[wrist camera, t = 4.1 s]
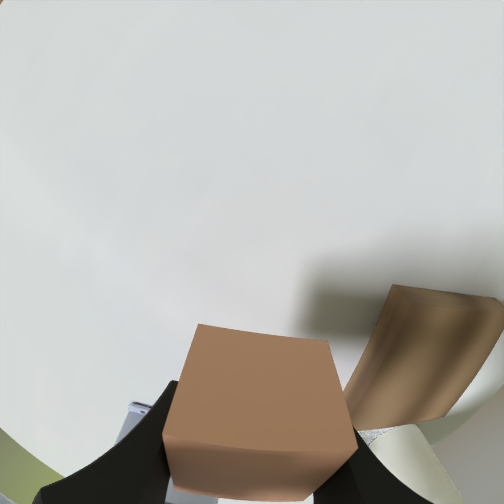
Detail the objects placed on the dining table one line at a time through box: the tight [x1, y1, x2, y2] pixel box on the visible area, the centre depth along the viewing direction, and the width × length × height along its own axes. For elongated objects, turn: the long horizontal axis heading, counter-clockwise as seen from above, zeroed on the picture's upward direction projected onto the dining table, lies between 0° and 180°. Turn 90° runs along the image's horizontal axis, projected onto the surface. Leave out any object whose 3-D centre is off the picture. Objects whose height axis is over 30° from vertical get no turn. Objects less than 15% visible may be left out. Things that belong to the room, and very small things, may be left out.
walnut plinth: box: [343, 285, 504, 431], centre depth 16 cm, size 12×12×3 cm
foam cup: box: [369, 424, 464, 504], centre depth 16 cm, size 10×9×13 cm
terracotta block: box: [162, 324, 358, 502], centre depth 8 cm, size 5×5×5 cm
